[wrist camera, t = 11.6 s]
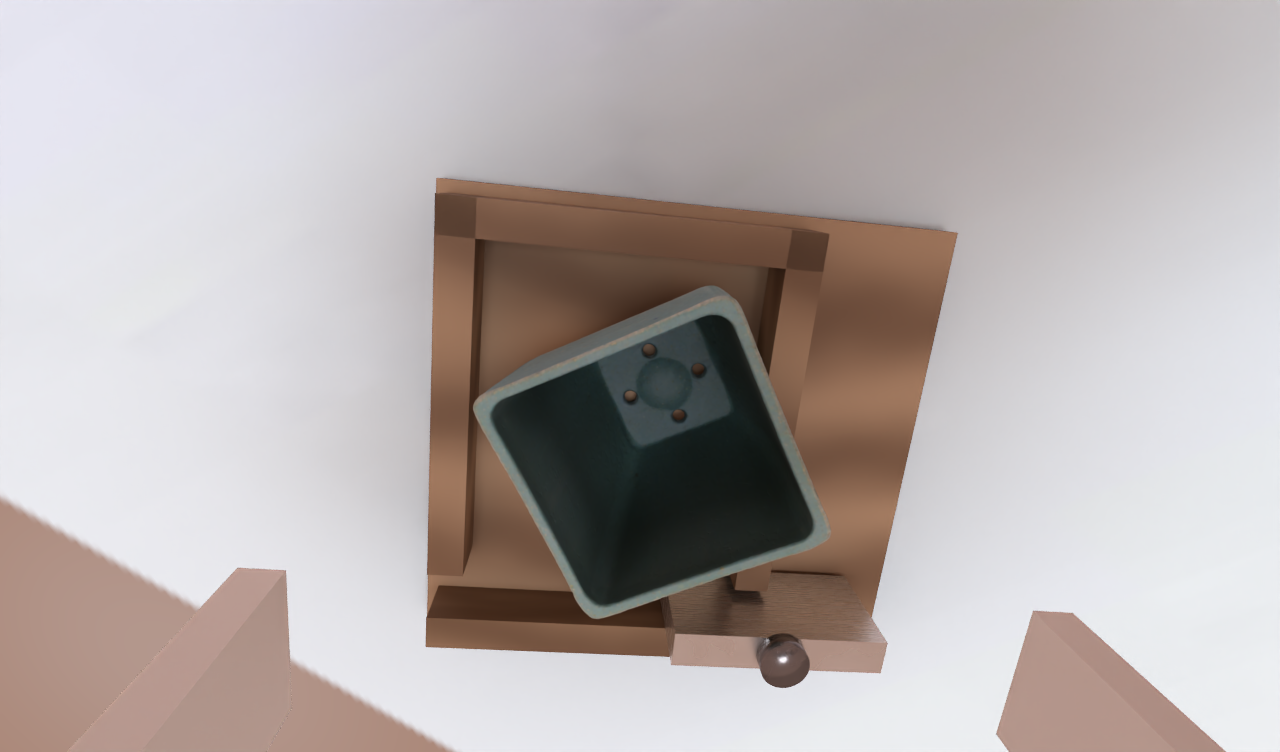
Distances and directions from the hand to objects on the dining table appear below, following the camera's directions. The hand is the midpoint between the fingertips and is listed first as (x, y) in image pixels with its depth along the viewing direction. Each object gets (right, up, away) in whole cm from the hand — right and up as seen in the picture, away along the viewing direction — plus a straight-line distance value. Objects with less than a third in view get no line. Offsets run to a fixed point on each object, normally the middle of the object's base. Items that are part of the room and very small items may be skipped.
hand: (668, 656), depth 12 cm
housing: (+1, +2, +20) cm, 20 cm away
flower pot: (+1, +5, +18) cm, 18 cm away
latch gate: (+5, -5, +21) cm, 22 cm away
